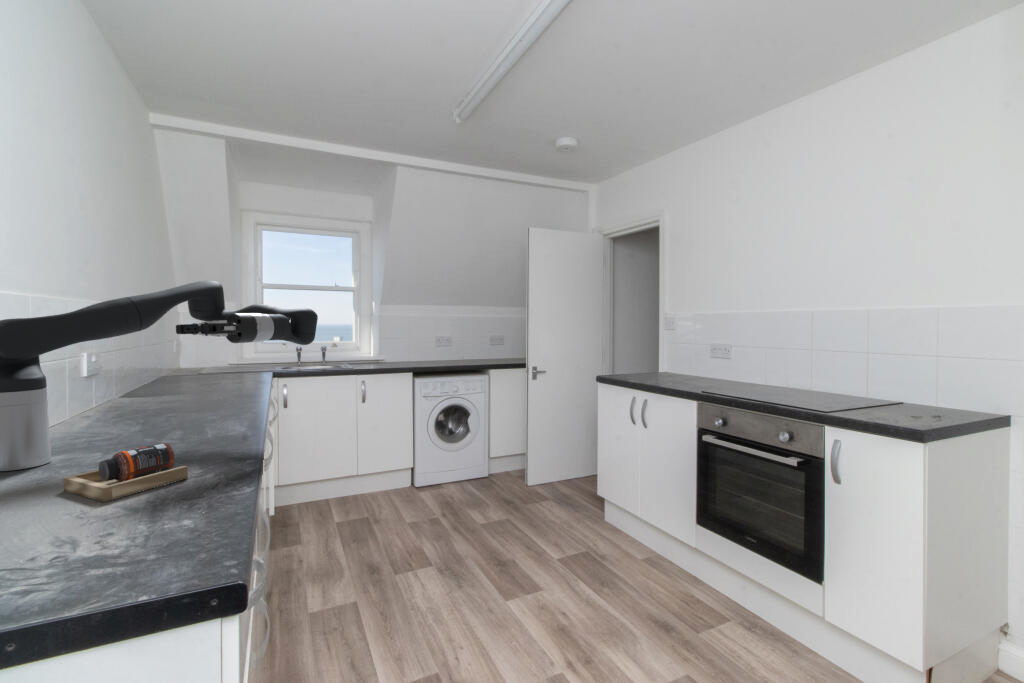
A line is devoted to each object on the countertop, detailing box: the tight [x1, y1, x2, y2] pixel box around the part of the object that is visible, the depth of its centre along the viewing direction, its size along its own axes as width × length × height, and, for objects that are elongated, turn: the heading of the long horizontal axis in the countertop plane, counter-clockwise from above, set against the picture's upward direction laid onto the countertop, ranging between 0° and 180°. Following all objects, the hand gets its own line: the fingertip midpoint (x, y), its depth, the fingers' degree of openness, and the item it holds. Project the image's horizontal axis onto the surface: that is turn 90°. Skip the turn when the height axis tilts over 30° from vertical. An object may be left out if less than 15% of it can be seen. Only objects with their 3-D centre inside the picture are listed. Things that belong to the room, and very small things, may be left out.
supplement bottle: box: [98, 442, 176, 482], centre depth 98 cm, size 6×6×11 cm
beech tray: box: [62, 465, 189, 503], centre depth 95 cm, size 15×14×2 cm
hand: (177, 329), depth 110 cm, fingers closed
